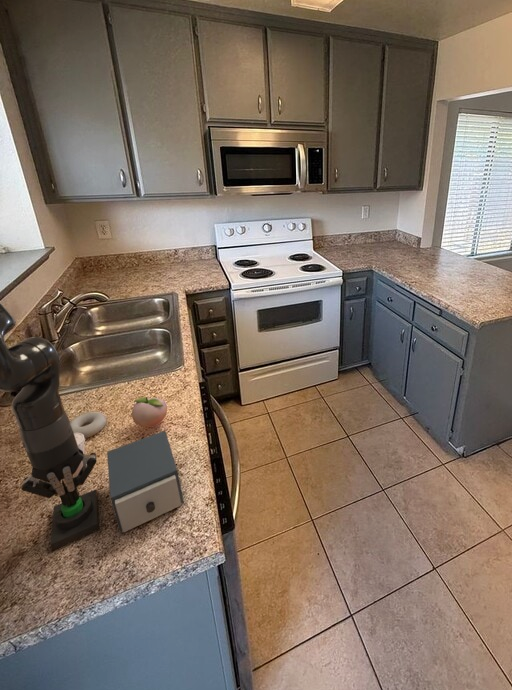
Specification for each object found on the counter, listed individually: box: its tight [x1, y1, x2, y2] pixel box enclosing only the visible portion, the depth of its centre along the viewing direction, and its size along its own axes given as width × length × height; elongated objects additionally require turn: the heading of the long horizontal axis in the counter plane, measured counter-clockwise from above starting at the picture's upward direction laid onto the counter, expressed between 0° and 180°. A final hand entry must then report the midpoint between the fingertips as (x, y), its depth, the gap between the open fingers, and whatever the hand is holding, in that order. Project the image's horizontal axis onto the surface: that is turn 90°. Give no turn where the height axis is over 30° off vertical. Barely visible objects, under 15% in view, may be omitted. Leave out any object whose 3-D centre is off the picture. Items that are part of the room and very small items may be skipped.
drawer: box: [115, 475, 182, 533], centre depth 79 cm, size 15×11×8 cm
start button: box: [61, 497, 83, 518], centre depth 75 cm, size 4×4×2 cm
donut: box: [70, 411, 107, 439], centre depth 103 cm, size 10×4×10 cm
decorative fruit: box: [131, 396, 168, 428], centre depth 102 cm, size 9×8×10 cm
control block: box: [49, 489, 100, 551], centre depth 76 cm, size 10×8×4 cm
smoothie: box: [74, 433, 86, 477], centre depth 86 cm, size 6×6×14 cm
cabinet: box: [106, 430, 184, 534], centre depth 81 cm, size 15×13×10 cm
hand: (72, 502), depth 75 cm, fingers closed
